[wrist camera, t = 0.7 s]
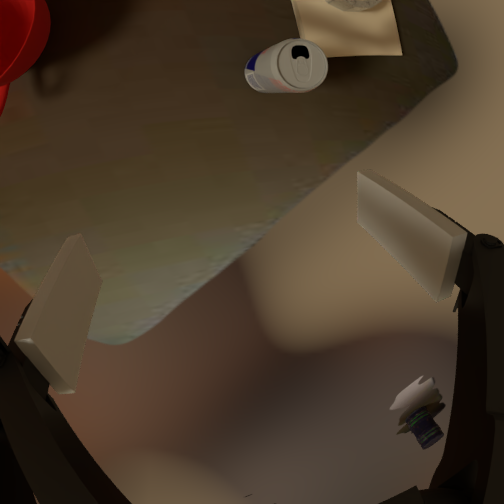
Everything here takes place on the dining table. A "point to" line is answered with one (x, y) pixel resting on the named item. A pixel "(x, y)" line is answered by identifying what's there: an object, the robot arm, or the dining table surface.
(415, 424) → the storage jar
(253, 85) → the energy drink
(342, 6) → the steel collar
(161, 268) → the dining table surface
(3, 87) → the ceramic cup
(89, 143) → the dining table surface
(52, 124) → the dining table surface
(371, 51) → the serving board
